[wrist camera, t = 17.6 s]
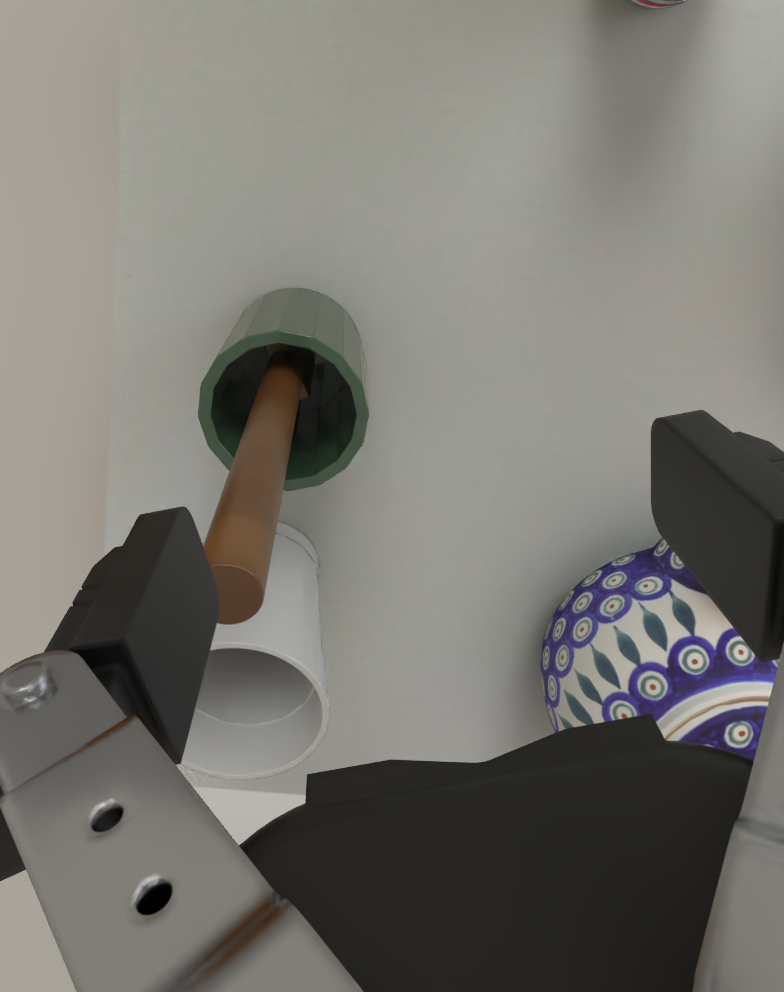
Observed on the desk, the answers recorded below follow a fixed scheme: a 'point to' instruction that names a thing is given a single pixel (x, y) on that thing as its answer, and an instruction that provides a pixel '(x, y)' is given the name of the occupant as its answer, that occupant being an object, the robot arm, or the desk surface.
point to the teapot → (653, 656)
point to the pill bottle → (658, 3)
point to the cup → (265, 677)
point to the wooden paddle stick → (257, 486)
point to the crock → (320, 418)
